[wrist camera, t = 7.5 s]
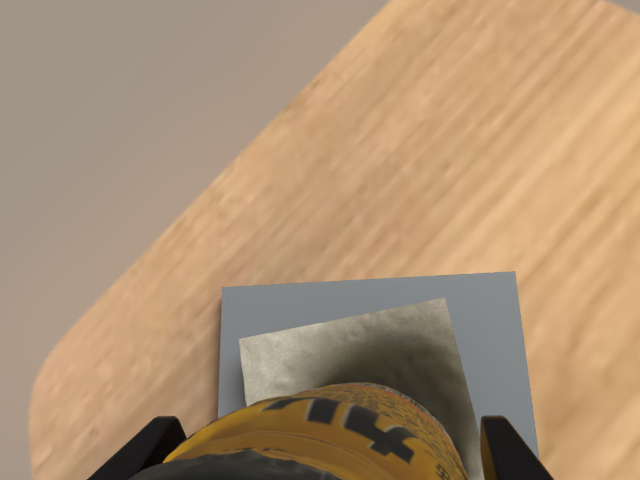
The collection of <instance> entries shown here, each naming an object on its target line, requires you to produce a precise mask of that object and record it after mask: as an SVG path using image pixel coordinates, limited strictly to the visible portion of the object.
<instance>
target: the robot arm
mask: <svg viewBox="0 0 640 480" xmlns="http://www.w3.org/2000/svg"><path fill="white" fill-rule="evenodd" d="M186 439H187V438H186V435H185V433H184V431H183V428H182V426H181V424H180V421H179V419H178V418H177V417H175V416H158V417H156V418H154V419H153V420H152V421H151V422H149V423H148V424H147V425H146V426H145V427H144V428H143V429H142V430H141V431H140V432H138V433H137V434H136V435H135V436H134V437H133V438H132V439H131V440H130V441H129V442H128V443H126V444H125V445H124V446H123V447H122V448H121V449H120V450H119V451H118V452H117V453H116V454H114V455H113V456H112V457H111V458H110V459H109V460H108V461H107V462H106V463H105V464H104V465H102V466H101V467H100V468H99V469H98V470H97V471H96V472H95V473H94V474H93V475H91V476H90V477H89V478H88V479H87V480H128V479H130V478H131V477H133V476H134V475H135V474H137V473H139V472H140V471H142V470H144V469H147V468H149V467H152V466H155V465H158V464H161V463H163V461H164V460H165V459H166V457H167V456H168V455H169V454H170V453H172V452H173V451H174V450H175V449H176V448H177V447H178V445H179V444H180V443H182V442H183V441H184V440H186ZM480 452H481V460H482V467H483V474H484V480H554V479H553V477H552V476H551V475H550V473H549V472H548V471H547V470H546V468H545V467H544V466H543V464H542V463H541V462H540V460H539V459H538V458H537V457H536V455H535V454H534V453H533V451H532V450H531V449H530V448H529V446H528V445H527V444H526V442H525V441H524V440H523V438H522V437H521V436H520V435H519V433H518V432H517V431H516V429H515V428H514V427H513V426H512V424H511V423H510V422H509V420H508V419H507V418H506V417H504V416H501V415H485V416H482V417H481V424H480Z"/></svg>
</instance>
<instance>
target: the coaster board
mask: <svg viewBox="0 0 640 480" xmlns="http://www.w3.org/2000/svg"><path fill="white" fill-rule="evenodd" d="M443 297H445V300H446V303H447V307H448V311H449V315H450V319H451V323H452V327H453V331H454V335H455V339H456V343H457V348H458V352H459V355H460V359H461V364H462V367H463V371H464V374H465V379H466V383H467V387H468V391H469V395H470V399H471V402H472V406H473V410H474V414H475V419H476V423H477V427H478V429H479V435H480V424H481V417H482V416H485V415H501V416H504V417H506V418H507V419H508V420H509V422H510V423H511V424H512V426H513V427H514V428H515V429H516V431H517V432H518V433H519V435H520V436H521V437H522V438H523V440H524V441H525V442H526V444H527V445H528V446H529V448H530V449H531V450H532V451H533V453H534V454H535V455H536V457H537V458H538V459H539V453H538V445H537V437H536V429H535V422H534V414H533V406H532V399H531V391H530V383H529V376H528V368H527V360H526V352H525V345H524V337H523V329H522V322H521V314H520V306H519V299H518V291H517V283H516V275H515V271H514V272H496V273H477V274H459V275H440V276H421V277H403V278H384V279H366V280H347V281H329V282H310V283H292V284H273V285H254V286H236V287H222V306H221V335H220V364H219V393H218V418H220V417H222V416H225V415H227V414H229V413H231V412H234V411H236V410H239V409H242V408H245V407H247V405H246V399H245V386H244V377H243V371H242V364H241V353H240V345H239V339H241V338H247V337H251V336H256V335H261V334H266V333H273V332H277V331H282V330H287V329H292V328H297V327H302V326H307V325H312V324H318V323H324V322H327V321H332V320H337V319H342V318H347V317H352V316H358V315H362V314H367V313H371V312H377V311H381V310H386V309H391V308H396V307H401V306H406V305H411V304H415V303H421V302H424V301H428V300H434V299H438V298H443Z"/></svg>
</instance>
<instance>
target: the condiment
mask: <svg viewBox="0 0 640 480" xmlns="http://www.w3.org/2000/svg"><path fill="white" fill-rule="evenodd" d="M239 345H240V353H241V364H242V371H243V377H244V386H245V399H246V405H247V407H245V408H242V409H239V410H236V411H234V412H231V413H229V414H227V415H225V416H222V417H220V418H218V419H216V420H214V421H212V422H211V423H209V424H208V425H206V426H205V427H203V428H202V429H200V430H199V431H198V432H196V433H194V434H192V435H191V436H190V437H188V438H187V439H186V440H184V441H183V442H182V443H180V444H179V445H178V447H177V448H176V449H175V450H174V451H173V452H172V453H170V454H169V455H168V456H167V457H166V459H165V460H164V461H163V463H161V464H158V465H155V466H152V467H149V468H147V469H144V470H142V471H140V472H139V473H137V474H135V475H134V476H133V477H131V478H130V479H128V480H484V474H483V467H482V460H481V452H480V435H479V429H478V427H477V423H476V419H475V414H474V410H473V406H472V402H471V399H470V395H469V391H468V387H467V383H466V379H465V374H464V371H463V367H462V364H461V359H460V355H459V352H458V348H457V343H456V339H455V335H454V331H453V327H452V323H451V319H450V315H449V311H448V307H447V303H446V300H445V297H443V298H438V299H434V300H428V301H424V302H421V303H415V304H411V305H406V306H401V307H396V308H391V309H386V310H381V311H377V312H371V313H367V314H362V315H358V316H352V317H347V318H342V319H337V320H332V321H327V322H324V323H318V324H312V325H307V326H302V327H297V328H292V329H287V330H282V331H277V332H273V333H266V334H261V335H256V336H251V337H247V338H241V339H239Z"/></svg>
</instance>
